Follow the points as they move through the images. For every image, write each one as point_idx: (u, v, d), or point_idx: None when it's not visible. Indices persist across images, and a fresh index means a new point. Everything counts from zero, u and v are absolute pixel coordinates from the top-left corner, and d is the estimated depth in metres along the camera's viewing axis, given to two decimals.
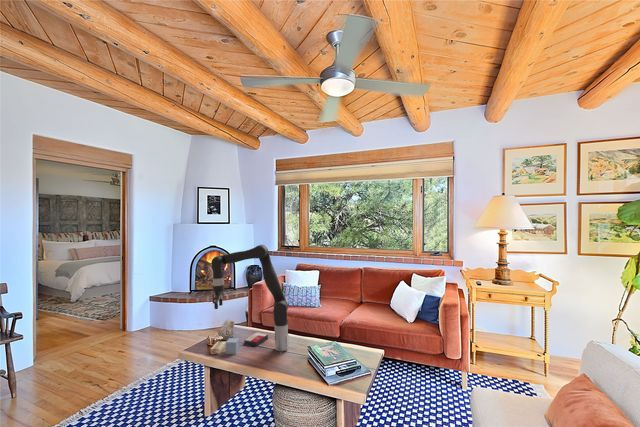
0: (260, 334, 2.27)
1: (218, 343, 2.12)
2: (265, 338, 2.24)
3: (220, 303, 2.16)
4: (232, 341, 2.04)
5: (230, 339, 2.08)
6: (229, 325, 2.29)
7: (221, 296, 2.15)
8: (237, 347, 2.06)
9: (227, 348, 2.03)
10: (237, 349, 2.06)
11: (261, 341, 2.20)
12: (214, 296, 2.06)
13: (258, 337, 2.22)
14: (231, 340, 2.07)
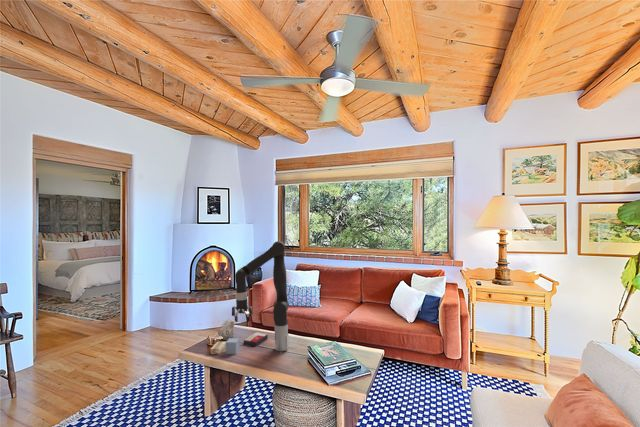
0: (260, 334, 2.27)
1: (218, 343, 2.12)
2: (265, 338, 2.24)
3: (237, 319, 2.07)
4: (232, 341, 2.04)
5: (230, 339, 2.08)
6: (229, 325, 2.29)
7: None
8: (237, 347, 2.06)
9: (227, 348, 2.03)
10: (237, 349, 2.06)
11: (261, 341, 2.20)
12: (251, 308, 2.06)
13: (257, 337, 2.23)
14: (231, 340, 2.07)
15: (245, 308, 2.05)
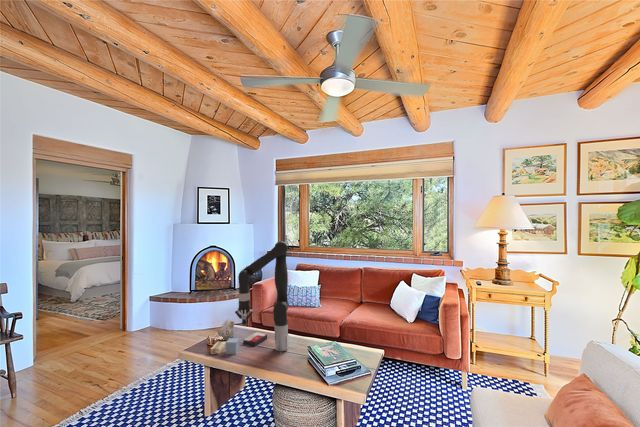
0: (259, 334, 2.28)
1: (218, 343, 2.12)
2: (264, 338, 2.25)
3: None
4: (232, 341, 2.04)
5: (230, 339, 2.08)
6: (229, 325, 2.29)
7: None
8: (237, 347, 2.06)
9: (227, 348, 2.03)
10: (237, 349, 2.06)
11: (260, 341, 2.20)
12: (252, 312, 2.06)
13: (257, 336, 2.23)
14: (231, 340, 2.07)
15: (248, 311, 2.05)
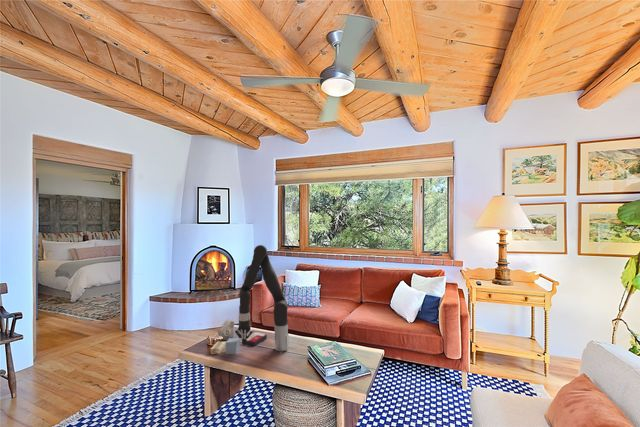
0: (259, 334, 2.28)
1: (218, 343, 2.12)
2: (264, 338, 2.25)
3: None
4: (232, 341, 2.04)
5: (230, 339, 2.08)
6: (229, 325, 2.29)
7: None
8: (237, 347, 2.06)
9: (227, 348, 2.03)
10: (237, 349, 2.06)
11: (259, 341, 2.20)
12: (252, 332, 2.06)
13: (256, 336, 2.23)
14: (231, 340, 2.07)
15: (247, 331, 2.05)
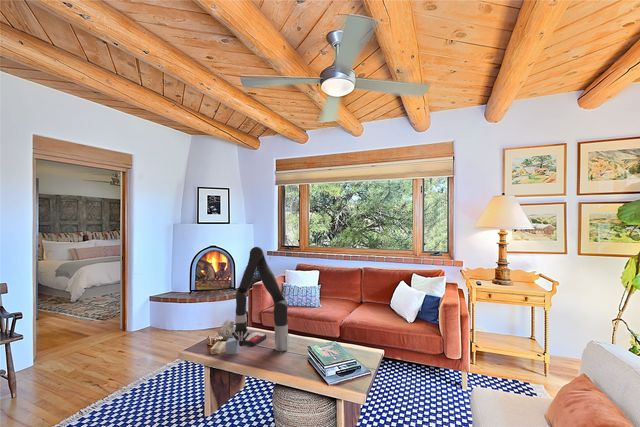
0: (258, 334, 2.28)
1: (218, 343, 2.12)
2: (263, 338, 2.25)
3: None
4: (232, 341, 2.04)
5: (230, 339, 2.08)
6: (229, 325, 2.29)
7: None
8: (237, 347, 2.06)
9: (227, 348, 2.03)
10: (237, 349, 2.06)
11: (259, 341, 2.20)
12: None
13: (256, 336, 2.23)
14: (231, 340, 2.07)
15: (244, 332, 2.05)
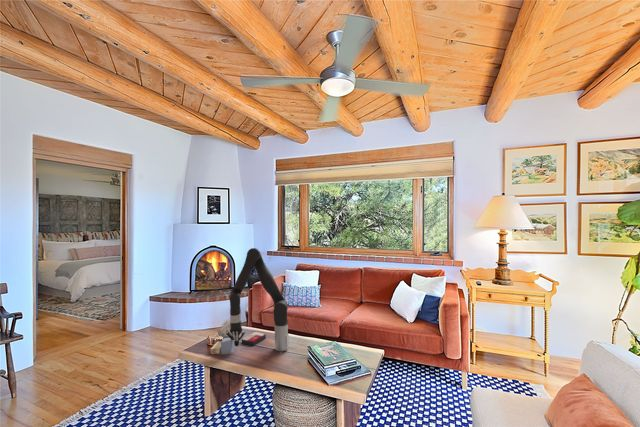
0: (258, 333, 2.28)
1: (218, 343, 2.12)
2: (263, 338, 2.25)
3: None
4: (227, 341, 2.05)
5: (225, 339, 2.08)
6: (229, 325, 2.29)
7: None
8: (232, 347, 2.06)
9: (222, 348, 2.03)
10: (232, 349, 2.06)
11: (258, 341, 2.21)
12: None
13: (255, 336, 2.23)
14: (227, 339, 2.07)
15: (239, 332, 2.05)
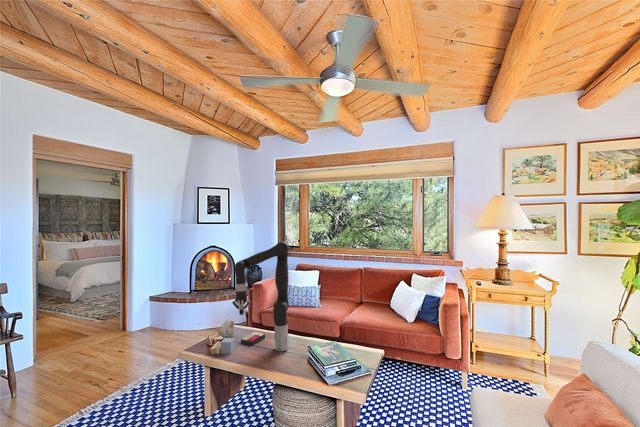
0: (257, 333, 2.29)
1: (218, 343, 2.12)
2: (262, 337, 2.25)
3: None
4: (227, 341, 2.05)
5: (225, 339, 2.08)
6: (229, 325, 2.29)
7: None
8: (232, 347, 2.06)
9: (222, 348, 2.03)
10: (232, 349, 2.06)
11: (257, 340, 2.21)
12: None
13: (254, 336, 2.24)
14: (227, 339, 2.07)
15: (245, 301, 2.07)
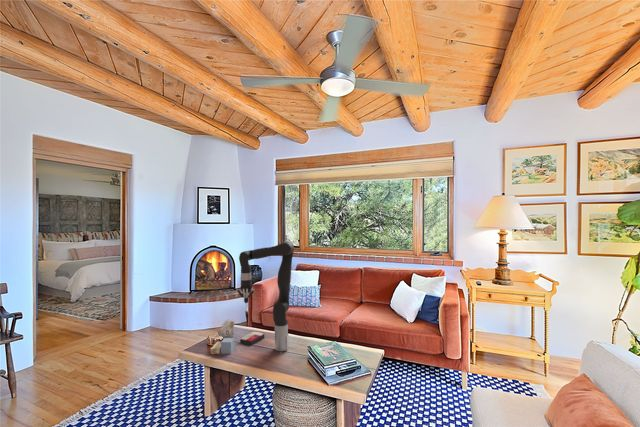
0: (257, 333, 2.29)
1: (218, 343, 2.12)
2: (261, 337, 2.26)
3: None
4: (227, 341, 2.05)
5: (225, 339, 2.08)
6: (229, 325, 2.29)
7: None
8: (232, 347, 2.06)
9: (222, 348, 2.03)
10: (232, 349, 2.06)
11: (257, 340, 2.21)
12: (253, 291, 2.15)
13: (254, 336, 2.24)
14: (227, 339, 2.07)
15: (249, 290, 2.15)
